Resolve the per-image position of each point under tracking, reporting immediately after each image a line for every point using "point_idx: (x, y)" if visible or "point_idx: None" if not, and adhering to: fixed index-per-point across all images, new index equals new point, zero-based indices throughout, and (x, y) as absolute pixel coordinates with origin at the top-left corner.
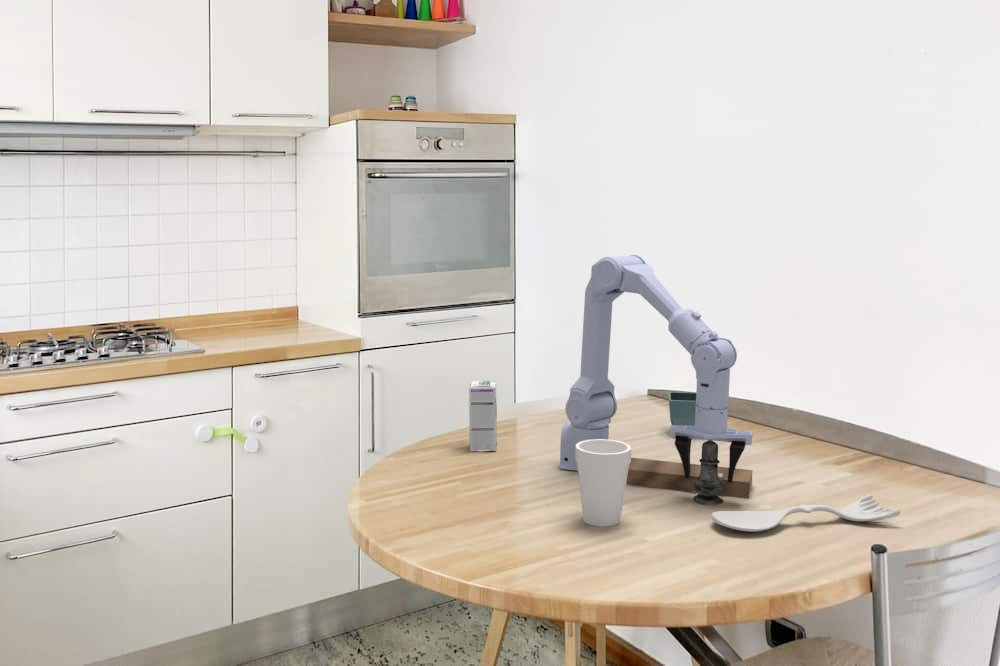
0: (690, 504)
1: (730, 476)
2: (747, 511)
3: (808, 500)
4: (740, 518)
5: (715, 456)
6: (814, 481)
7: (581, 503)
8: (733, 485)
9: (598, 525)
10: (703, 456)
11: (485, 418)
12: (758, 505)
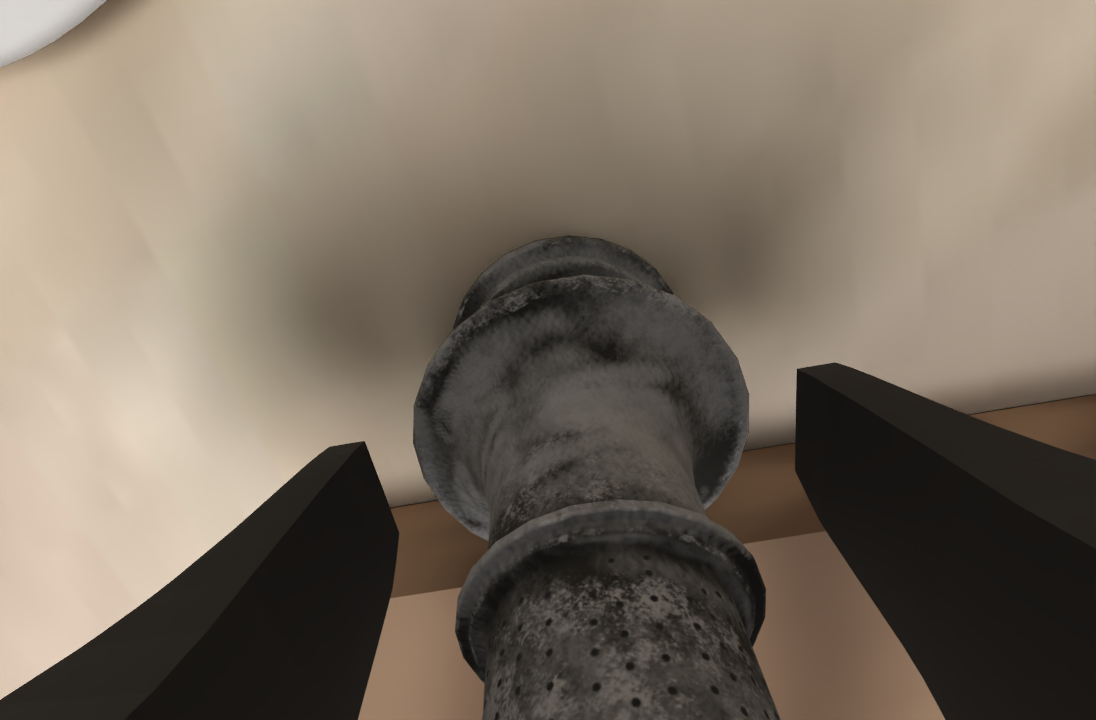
0: (671, 170)
1: (303, 477)
2: (10, 24)
3: (7, 643)
4: None
5: (497, 688)
6: None
7: None
8: (417, 561)
9: None
10: (718, 629)
11: None
12: (196, 421)
